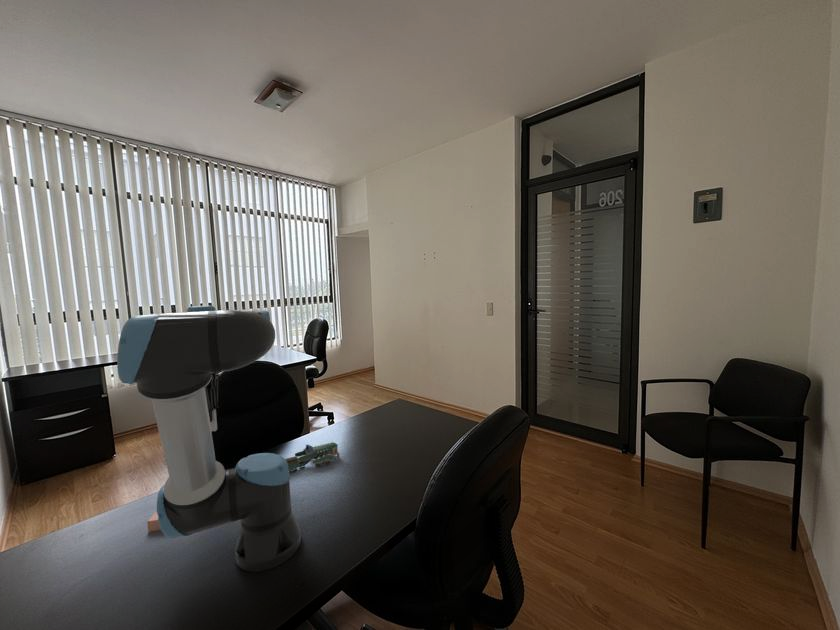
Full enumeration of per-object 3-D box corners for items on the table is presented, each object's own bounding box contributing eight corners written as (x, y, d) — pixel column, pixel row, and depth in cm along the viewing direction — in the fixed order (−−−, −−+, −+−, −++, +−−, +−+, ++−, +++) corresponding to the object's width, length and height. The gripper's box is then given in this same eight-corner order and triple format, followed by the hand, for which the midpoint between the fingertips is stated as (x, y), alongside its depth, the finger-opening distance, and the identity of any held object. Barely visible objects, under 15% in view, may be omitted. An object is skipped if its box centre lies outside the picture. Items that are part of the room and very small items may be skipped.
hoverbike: (343, 462, 130) (342, 441, 130) (271, 485, 117) (270, 461, 116) (334, 452, 138) (333, 432, 138) (266, 472, 125) (264, 450, 124)
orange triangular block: (172, 528, 97) (171, 518, 96) (148, 531, 96) (147, 521, 96) (186, 510, 105) (186, 500, 104) (164, 512, 104) (163, 503, 103)
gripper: (210, 359, 102) (217, 437, 104) (225, 351, 115) (231, 421, 117) (182, 361, 101) (189, 440, 103) (200, 353, 114) (206, 424, 115)
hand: (211, 430), depth 110 cm, fingers closed
